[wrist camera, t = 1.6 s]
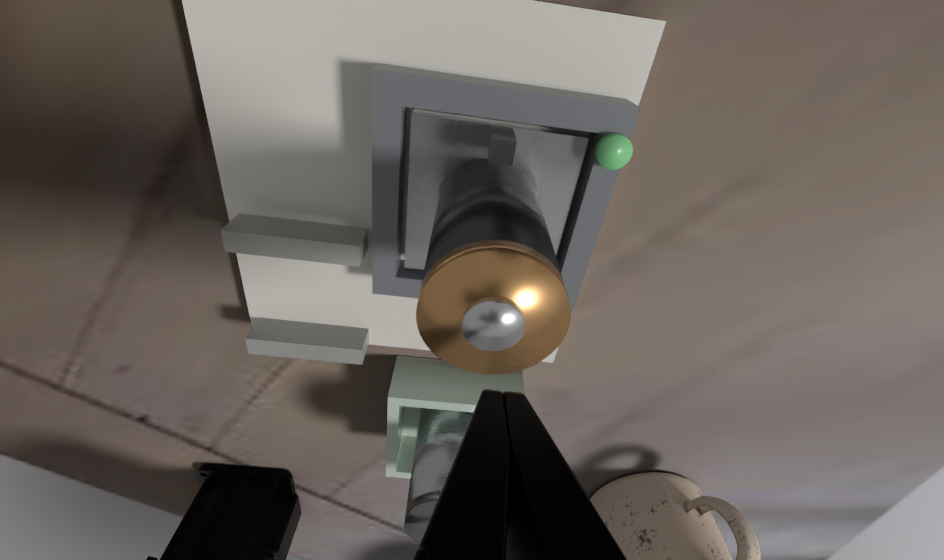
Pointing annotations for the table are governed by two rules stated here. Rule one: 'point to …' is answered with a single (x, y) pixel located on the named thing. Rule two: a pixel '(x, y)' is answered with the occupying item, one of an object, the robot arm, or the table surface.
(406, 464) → the cup
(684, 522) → the teacup with lid
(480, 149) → the cradle
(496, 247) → the cell
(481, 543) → the robot arm
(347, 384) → the table surface
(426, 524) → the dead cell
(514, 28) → the white square base board
